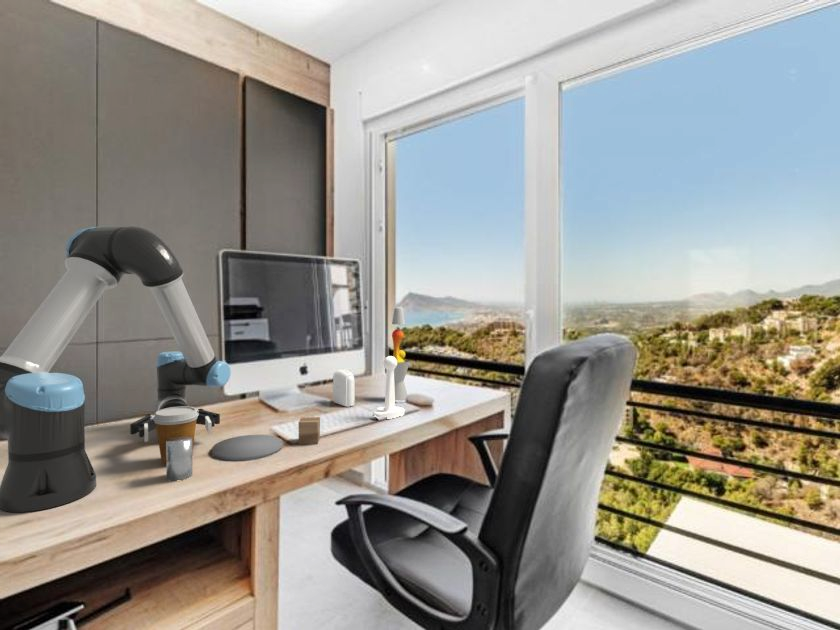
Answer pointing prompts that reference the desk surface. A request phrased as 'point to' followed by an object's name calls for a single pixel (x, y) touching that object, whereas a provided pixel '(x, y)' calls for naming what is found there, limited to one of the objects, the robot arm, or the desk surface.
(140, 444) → the desk surface
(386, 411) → the joystick
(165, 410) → the disposable coffee cup
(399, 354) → the lava lamp
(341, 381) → the photo printer
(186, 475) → the chrome cylinder
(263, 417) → the desk surface
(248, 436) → the round gray coaster
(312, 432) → the walnut block
